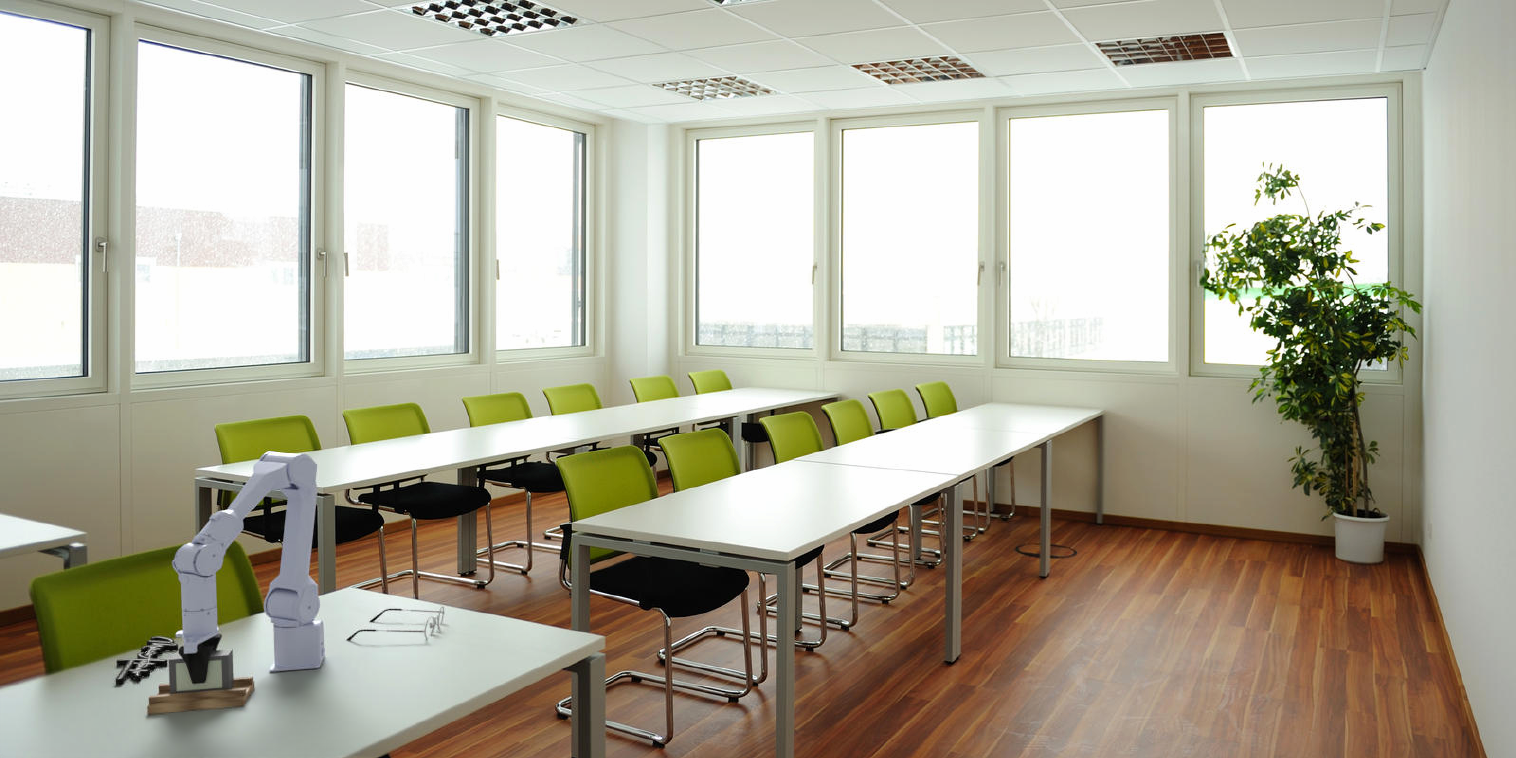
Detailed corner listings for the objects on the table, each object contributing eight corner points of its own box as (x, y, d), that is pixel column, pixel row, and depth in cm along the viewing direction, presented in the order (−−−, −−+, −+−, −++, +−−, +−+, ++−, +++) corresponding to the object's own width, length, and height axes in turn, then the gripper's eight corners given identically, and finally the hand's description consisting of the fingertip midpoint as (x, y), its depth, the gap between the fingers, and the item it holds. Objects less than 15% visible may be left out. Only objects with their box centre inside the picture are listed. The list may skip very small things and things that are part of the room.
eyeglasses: (427, 644, 228) (427, 622, 227) (343, 644, 228) (343, 621, 228) (450, 622, 244) (450, 601, 243) (371, 621, 244) (371, 600, 244)
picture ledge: (254, 688, 200) (254, 674, 200) (244, 705, 192) (243, 691, 191) (162, 696, 196) (161, 682, 196) (147, 714, 187) (146, 699, 187)
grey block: (234, 684, 197) (232, 648, 196) (229, 692, 193) (228, 655, 193) (175, 689, 194) (174, 653, 194) (169, 697, 191) (168, 659, 190)
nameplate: (132, 638, 226) (184, 633, 230) (132, 645, 226) (184, 640, 230) (101, 681, 201) (160, 675, 204) (101, 688, 201) (160, 682, 204)
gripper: (186, 598, 199) (188, 667, 199) (163, 620, 185) (166, 694, 186) (226, 595, 200) (229, 664, 201) (207, 617, 186) (210, 691, 187)
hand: (202, 678), depth 194 cm, fingers closed on grey block, 4 cm apart
